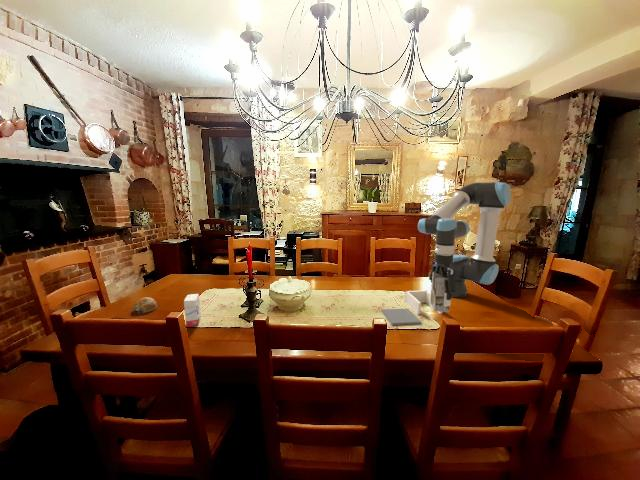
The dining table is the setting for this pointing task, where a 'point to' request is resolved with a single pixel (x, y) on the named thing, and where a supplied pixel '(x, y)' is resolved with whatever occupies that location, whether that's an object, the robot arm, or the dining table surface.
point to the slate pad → (400, 316)
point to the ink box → (192, 309)
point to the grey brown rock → (144, 305)
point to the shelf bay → (418, 299)
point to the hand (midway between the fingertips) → (439, 300)
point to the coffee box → (438, 292)
